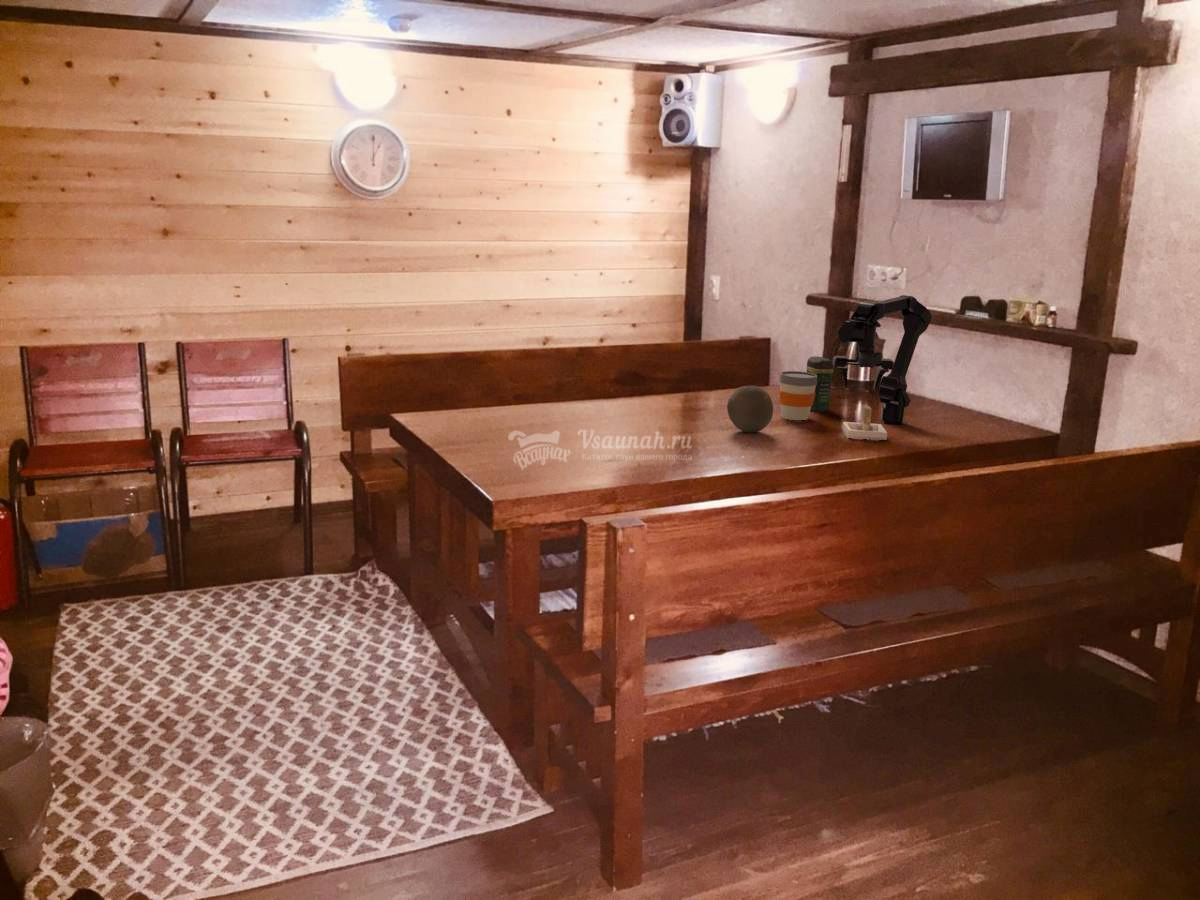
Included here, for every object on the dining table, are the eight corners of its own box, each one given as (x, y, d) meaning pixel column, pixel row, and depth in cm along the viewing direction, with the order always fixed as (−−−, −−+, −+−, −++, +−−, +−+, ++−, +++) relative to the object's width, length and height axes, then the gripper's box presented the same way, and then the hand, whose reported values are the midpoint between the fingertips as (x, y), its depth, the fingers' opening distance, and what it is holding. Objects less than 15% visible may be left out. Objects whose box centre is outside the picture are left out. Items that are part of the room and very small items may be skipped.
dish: (879, 431, 321) (880, 422, 320) (886, 441, 309) (887, 431, 309) (842, 429, 322) (843, 420, 321) (847, 438, 310) (848, 428, 310)
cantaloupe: (733, 425, 321) (737, 379, 317) (776, 431, 315) (780, 385, 311) (719, 434, 309) (723, 386, 305) (763, 440, 303) (767, 392, 299)
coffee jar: (832, 411, 348) (838, 359, 343) (812, 412, 346) (818, 359, 341) (818, 405, 357) (823, 354, 352) (799, 406, 354) (804, 355, 350)
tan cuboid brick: (866, 430, 317) (869, 406, 315) (868, 433, 313) (871, 409, 311) (860, 430, 317) (862, 405, 315) (862, 433, 313) (865, 408, 311)
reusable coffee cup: (801, 413, 343) (806, 370, 339) (820, 421, 332) (825, 377, 328) (769, 414, 339) (773, 371, 335) (787, 422, 328) (791, 378, 324)
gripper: (839, 343, 311) (834, 392, 315) (900, 346, 310) (894, 395, 314) (834, 338, 322) (829, 385, 326) (893, 341, 320) (887, 388, 324)
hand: (860, 388), depth 322 cm, fingers open, 9 cm apart
